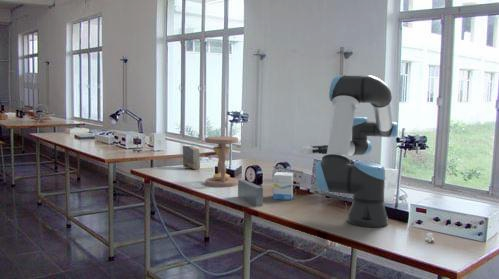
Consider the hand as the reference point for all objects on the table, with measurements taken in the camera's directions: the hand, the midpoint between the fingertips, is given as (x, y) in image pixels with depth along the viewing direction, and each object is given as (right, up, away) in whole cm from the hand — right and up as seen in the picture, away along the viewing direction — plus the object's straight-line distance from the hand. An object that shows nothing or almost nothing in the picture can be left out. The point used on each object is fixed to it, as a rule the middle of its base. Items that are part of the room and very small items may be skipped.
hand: (303, 150), depth 224 cm
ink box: (-10, -23, -2) cm, 25 cm away
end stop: (-26, -23, -10) cm, 36 cm away
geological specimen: (-63, -14, +75) cm, 99 cm away
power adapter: (+35, -30, -66) cm, 80 cm away
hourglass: (-41, -19, +28) cm, 53 cm away
